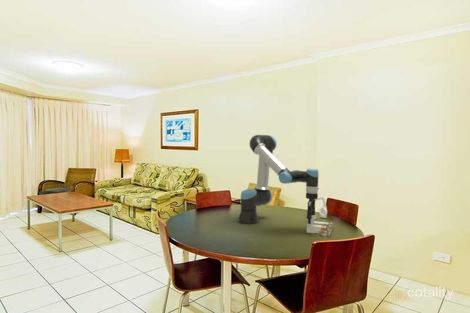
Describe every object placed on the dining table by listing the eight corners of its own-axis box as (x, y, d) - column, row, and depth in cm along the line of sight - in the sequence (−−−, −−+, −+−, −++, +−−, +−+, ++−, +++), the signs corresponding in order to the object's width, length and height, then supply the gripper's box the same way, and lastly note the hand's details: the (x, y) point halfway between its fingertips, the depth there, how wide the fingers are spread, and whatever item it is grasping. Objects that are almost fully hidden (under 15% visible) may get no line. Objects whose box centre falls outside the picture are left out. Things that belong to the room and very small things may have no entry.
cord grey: (309, 228, 197) (309, 222, 197) (311, 227, 202) (311, 220, 201) (328, 231, 192) (328, 224, 192) (328, 229, 196) (329, 222, 196)
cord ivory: (306, 232, 189) (306, 225, 189) (307, 230, 193) (308, 223, 193) (325, 234, 184) (325, 227, 184) (326, 232, 188) (326, 226, 188)
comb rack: (316, 235, 183) (316, 227, 183) (321, 226, 202) (321, 220, 202) (329, 236, 180) (329, 229, 180) (333, 228, 199) (333, 221, 198)
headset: (313, 223, 212) (314, 199, 211) (305, 221, 217) (305, 197, 217) (328, 219, 225) (329, 196, 224) (320, 217, 230) (321, 195, 230)
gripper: (314, 195, 178) (313, 231, 179) (320, 190, 198) (319, 223, 199) (302, 194, 181) (301, 230, 182) (309, 189, 201) (308, 221, 202)
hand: (310, 226), depth 191 cm, fingers open, 9 cm apart
